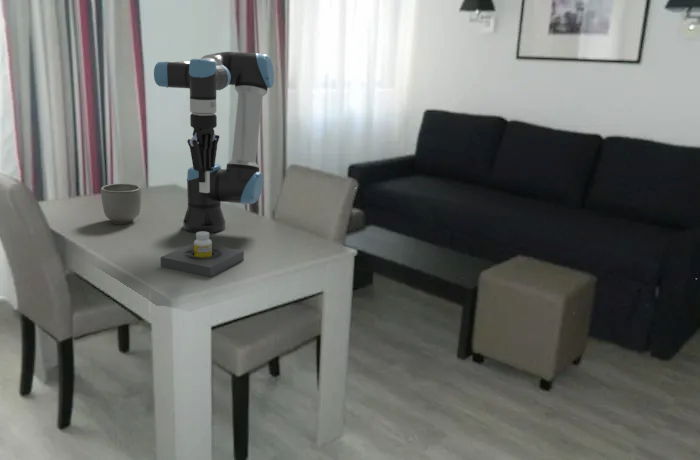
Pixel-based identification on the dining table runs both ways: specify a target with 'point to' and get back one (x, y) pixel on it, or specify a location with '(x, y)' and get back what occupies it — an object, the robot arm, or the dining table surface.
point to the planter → (121, 202)
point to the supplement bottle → (202, 245)
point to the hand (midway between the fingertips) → (204, 192)
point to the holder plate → (202, 260)
